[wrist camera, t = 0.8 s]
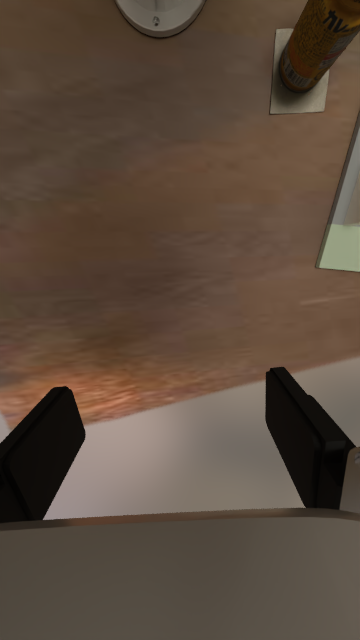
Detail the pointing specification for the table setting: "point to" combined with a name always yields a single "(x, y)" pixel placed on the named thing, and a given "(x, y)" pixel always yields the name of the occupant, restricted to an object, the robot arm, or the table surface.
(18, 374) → the table surface
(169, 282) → the table surface
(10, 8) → the table surface
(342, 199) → the channel board
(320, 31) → the condiment
